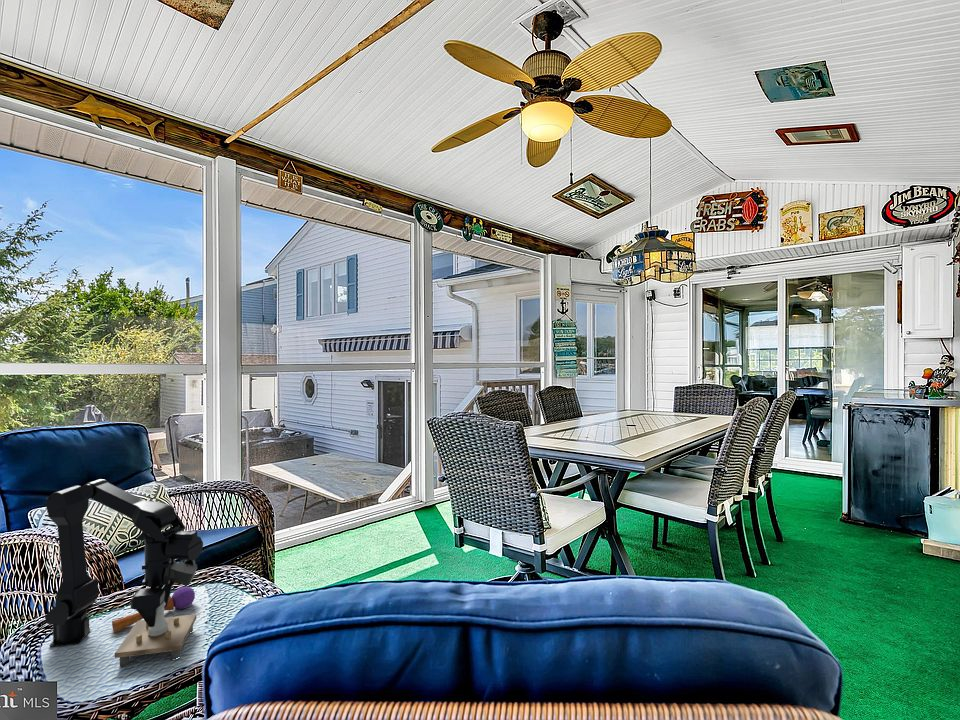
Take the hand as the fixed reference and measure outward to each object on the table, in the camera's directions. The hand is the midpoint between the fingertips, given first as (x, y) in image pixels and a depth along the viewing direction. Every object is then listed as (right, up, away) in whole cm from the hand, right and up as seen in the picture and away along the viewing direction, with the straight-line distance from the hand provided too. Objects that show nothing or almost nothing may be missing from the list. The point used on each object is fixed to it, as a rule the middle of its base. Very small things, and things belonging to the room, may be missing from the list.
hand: (158, 616), depth 128 cm
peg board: (0, -8, 0) cm, 8 cm away
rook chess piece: (0, -4, 0) cm, 4 cm away
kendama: (-10, -8, +14) cm, 19 cm away
